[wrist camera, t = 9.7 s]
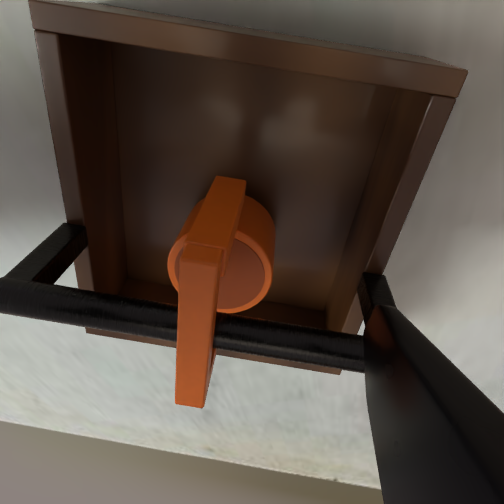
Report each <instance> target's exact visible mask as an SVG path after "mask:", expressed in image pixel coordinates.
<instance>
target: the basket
mask: <svg viewBox="0 0 504 504" xmlns="http://www.w3.org/2000/svg"><path fill="white" fill-rule="evenodd" d="M28 2H29V8H30V14H31V20H32V25H33V28H34V29H35V31H34V35H35V40H36V46H37V52H38V58H39V63H40V69H41V75H42V81H43V87H44V92H45V98H46V104H47V110H48V115H49V121H50V127H51V133H52V138H53V144H54V150H55V156H56V161H57V167H58V173H59V179H60V184H61V190H62V196H63V202H64V207H65V213H66V219H67V223H71V224H77V225H83V226H86V229H87V236H88V246H87V247H86V248H85V249H84V250H83V251H82V253H81V254H80V255H79V256H78V257H77V258H76V259H75V260H74V265H75V271H76V277H77V282H78V288H79V289H84V290H90V291H96V292H102V293H108V294H114V295H120V296H126V297H132V298H139V299H145V300H151V301H157V302H163V303H169V304H175V305H178V292H177V290H176V289H175V287H174V286H173V284H172V282H171V280H170V277H169V274H168V268H167V261H168V256H169V252H170V250H171V248H172V246H173V244H174V242H175V240H176V238H177V237H178V235H179V233H180V231H181V229H182V227H183V225H184V223H185V221H186V220H187V218H188V216H189V214H190V212H191V211H192V209H193V207H194V206H195V205H196V204H197V203H198V202H199V201H201V200H202V199H204V198H205V197H206V195H207V193H208V191H209V189H210V187H211V185H212V183H213V181H214V179H215V177H216V176H223V177H229V178H235V179H241V180H246V190H245V195H246V196H249V197H251V198H253V199H254V200H256V201H257V202H259V203H260V204H261V205H262V206H263V207H264V208H265V209H266V210H267V211H268V213H269V214H270V216H271V218H272V220H273V222H274V225H275V231H276V239H275V253H274V267H273V279H272V284H271V287H270V289H269V291H268V293H267V294H266V296H265V297H264V298H263V299H262V300H261V301H260V302H259V303H258V304H256V305H255V306H253V307H251V308H249V309H247V310H244V311H241V312H236V313H229V314H235V315H241V316H247V317H253V318H259V319H265V320H272V321H278V322H284V323H290V324H296V325H302V326H308V327H314V328H320V329H326V330H332V331H338V332H344V333H350V334H356V335H357V333H358V331H359V328H360V326H361V324H362V321H363V315H362V311H361V306H360V302H359V298H358V293H357V289H356V288H357V286H358V283H359V280H360V278H361V275H362V273H363V272H369V273H375V274H381V275H382V274H383V272H384V269H385V267H386V265H387V262H388V260H389V257H390V255H391V253H392V250H393V248H394V246H395V243H396V241H397V239H398V236H399V234H400V231H401V229H402V227H403V224H404V222H405V220H406V217H407V215H408V213H409V210H410V208H411V205H412V203H413V201H414V198H415V196H416V194H417V191H418V189H419V187H420V184H421V182H422V179H423V177H424V175H425V172H426V170H427V168H428V165H429V163H430V161H431V158H432V156H433V153H434V151H435V149H436V146H437V144H438V142H439V139H440V137H441V135H442V132H443V130H444V127H445V125H446V123H447V120H448V118H449V116H450V113H451V111H452V109H453V106H454V104H455V101H456V98H457V97H458V95H459V93H460V91H461V88H462V86H463V83H464V81H465V79H466V76H467V74H468V70H466V69H462V68H459V67H456V66H453V65H450V64H446V63H443V62H440V61H437V60H433V59H430V58H427V57H423V56H417V55H411V54H405V53H399V52H393V51H386V50H380V49H374V48H368V47H362V46H356V45H349V44H343V43H337V42H331V41H325V40H319V39H312V38H306V37H300V36H294V35H288V34H282V33H275V32H269V31H263V30H257V29H251V28H245V27H238V26H232V25H226V24H220V23H214V22H208V21H202V20H195V19H189V18H183V17H177V16H171V15H165V14H158V13H152V12H146V11H140V10H134V9H128V8H121V7H115V6H109V5H103V4H97V3H85V2H69V1H54V0H28ZM85 329H86V333H89V334H95V335H101V336H107V337H113V338H119V339H125V340H131V341H137V342H143V343H149V344H155V345H161V346H167V347H174V348H177V342H172V341H166V340H160V339H154V338H148V337H142V336H136V335H130V334H124V333H118V332H112V331H106V330H100V329H94V328H88V327H85ZM216 355H222V356H228V357H234V358H240V359H246V360H252V361H258V362H264V363H270V364H276V365H282V366H288V367H294V368H300V369H306V370H312V371H318V372H324V373H330V374H336V375H340V373H341V371H342V370H341V369H335V368H329V367H323V366H317V365H311V364H305V363H299V362H293V361H287V360H281V359H275V358H269V357H263V356H257V355H251V354H245V353H238V352H232V351H226V350H220V349H216Z"/></svg>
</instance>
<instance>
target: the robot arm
mask: <svg viewBox="0 0 504 504" xmlns="http://www.w3.org/2000/svg"><path fill="white" fill-rule="evenodd" d="M363 346H364V365H365V384H366V399H367V406H368V413H369V419H370V425H371V431H372V436H373V442H374V448H375V454H376V460H377V466H378V472H379V478H380V483H381V489H382V495H383V501H384V504H504V413H503V412H502V411H501V410H500V409H499V408H498V407H497V406H496V405H495V404H494V403H493V402H492V401H491V400H490V399H489V398H487V397H486V396H485V395H484V394H483V393H482V392H481V391H480V390H479V389H478V388H477V387H476V386H475V385H474V384H473V383H472V382H471V381H470V380H469V379H468V378H467V377H466V376H465V375H464V374H463V373H462V372H461V371H460V370H459V369H458V368H457V367H456V366H455V365H454V364H453V363H452V362H451V361H450V360H449V359H448V358H447V357H446V356H445V355H444V354H443V353H442V352H441V351H440V350H439V349H438V348H437V347H436V346H435V345H433V344H432V343H431V342H430V341H429V340H428V339H427V338H426V337H425V336H424V335H423V334H422V333H421V332H420V331H419V330H418V329H417V328H416V327H415V326H414V325H413V324H412V323H411V322H410V321H409V320H408V319H407V318H406V317H405V316H404V315H403V314H402V313H401V312H400V311H399V310H398V309H397V308H395V307H393V306H387V305H381V304H378V305H376V306H375V307H374V309H373V311H372V313H371V316H370V318H369V320H368V323H367V325H366V327H365V330H364V334H363Z"/></svg>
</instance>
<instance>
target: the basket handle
mask: <svg viewBox="0 0 504 504" xmlns="http://www.w3.org/2000/svg"><path fill="white" fill-rule="evenodd" d="M87 246H88V236H87V229H86V226H83V225H77V224H71V223H63V224H62V225H61V226H60V227H58V228H57V229H56V230H55V231H54V232H53V233H52V234H51V235H50V236H48V237H47V238H46V239H45V240H44V241H43V242H42V243H41V244H40V245H39V246H37V247H36V248H35V249H34V250H33V251H32V252H31V253H30V254H29V255H27V256H26V257H25V258H24V259H23V260H22V261H21V262H20V263H19V264H18V265H16V266H15V267H14V268H13V269H12V270H11V271H10V272H9V273H8V274H6V275H5V276H4V277H2V278H0V313H3V314H9V315H15V316H21V317H27V318H33V319H40V320H46V321H52V322H58V323H64V324H70V325H76V326H82V327H88V328H94V329H100V330H106V331H112V332H118V333H124V334H130V335H136V336H142V337H148V338H154V339H160V340H166V341H172V342H177V320H178V305H175V304H169V303H163V302H157V301H151V300H145V299H139V298H132V297H126V296H120V295H114V294H108V293H102V292H96V291H90V290H84V289H78V288H72V287H66V286H60V285H54V283H55V282H56V281H57V280H58V278H59V277H60V276H61V275H62V274H63V273H64V272H65V271H66V269H67V268H68V267H69V266H70V265H71V264H72V263H73V262H74V260H75V259H76V258H77V257H78V256H79V255H80V254H81V253H82V251H83V250H84V249H85V248H86V247H87ZM356 289H357V293H358V298H359V302H360V306H361V311H362V315H363V319H364V323H365V327H366V325H367V323H368V320H369V318H370V316H371V313H372V311H373V309H374V307H375V306H376V305H378V304H381V305H387V306H393V307H395V308H397V307H396V305H395V302H394V299H393V296H392V293H391V291H390V288H389V285H388V282H387V279H386V277H385V276H384V275H381V274H375V273H369V272H363V273H362V275H361V278H360V280H359V283H358V286H357V288H356ZM212 348H214V349H220V350H226V351H232V352H238V353H245V354H251V355H257V356H263V357H269V358H275V359H281V360H287V361H293V362H299V363H305V364H311V365H317V366H323V367H329V368H335V369H341V370H347V371H353V372H359V373H365V365H364V346H363V336H362V335H356V334H350V333H344V332H338V331H332V330H326V329H320V328H314V327H308V326H302V325H296V324H290V323H284V322H278V321H272V320H265V319H259V318H253V317H247V316H241V315H235V314H229V313H223V312H217V311H216V320H215V329H214V338H213V347H212Z"/></svg>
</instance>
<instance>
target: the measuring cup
mask: <svg viewBox="0 0 504 504" xmlns="http://www.w3.org/2000/svg"><path fill="white" fill-rule="evenodd" d="M245 190H246V180H241V179H235V178H229V177H223V176H216V177H215V179H214V181H213V183H212V185H211V187H210V189H209V191H208V193H207V195H206V197H205V198H204V199H202V200H201V201H199V202H198V203H197V204H196V205H195V206H194V207H193V209H192V211H191V212H190V214H189V216H188V218H187V220H186V221H185V223H184V225H183V227H182V229H181V231H180V233H179V235H178V237H177V238H176V240H175V242H174V244H173V246H172V248H171V250H170V252H169V256H168V261H167V268H168V274H169V277H170V280H171V282H172V284H173V286H174V287H175V289H176V290H177V292H178V320H177V351H176V383H175V403H176V404H179V405H185V406H191V407H197V408H203V407H204V405H205V400H206V396H207V391H208V387H209V383H210V378H211V374H212V369H213V365H214V361H215V356H216V349H214V348H212V347H213V338H214V329H215V320H216V311H217V312H223V313H236V312H241V311H244V310H247V309H249V308H251V307H253V306H255V305H256V304H258V303H259V302H260V301H261V300H262V299H263V298H264V297H265V296H266V294H267V293H268V291H269V289H270V287H271V284H272V279H273V267H274V253H275V239H276V231H275V225H274V222H273V220H272V218H271V216H270V214H269V213H268V211H267V210H266V209H265V208H264V207H263V206H262V205H261V204H260V203H259V202H257V201H256V200H254V199H253V198H251V197H249V196H246V195H245Z"/></svg>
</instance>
